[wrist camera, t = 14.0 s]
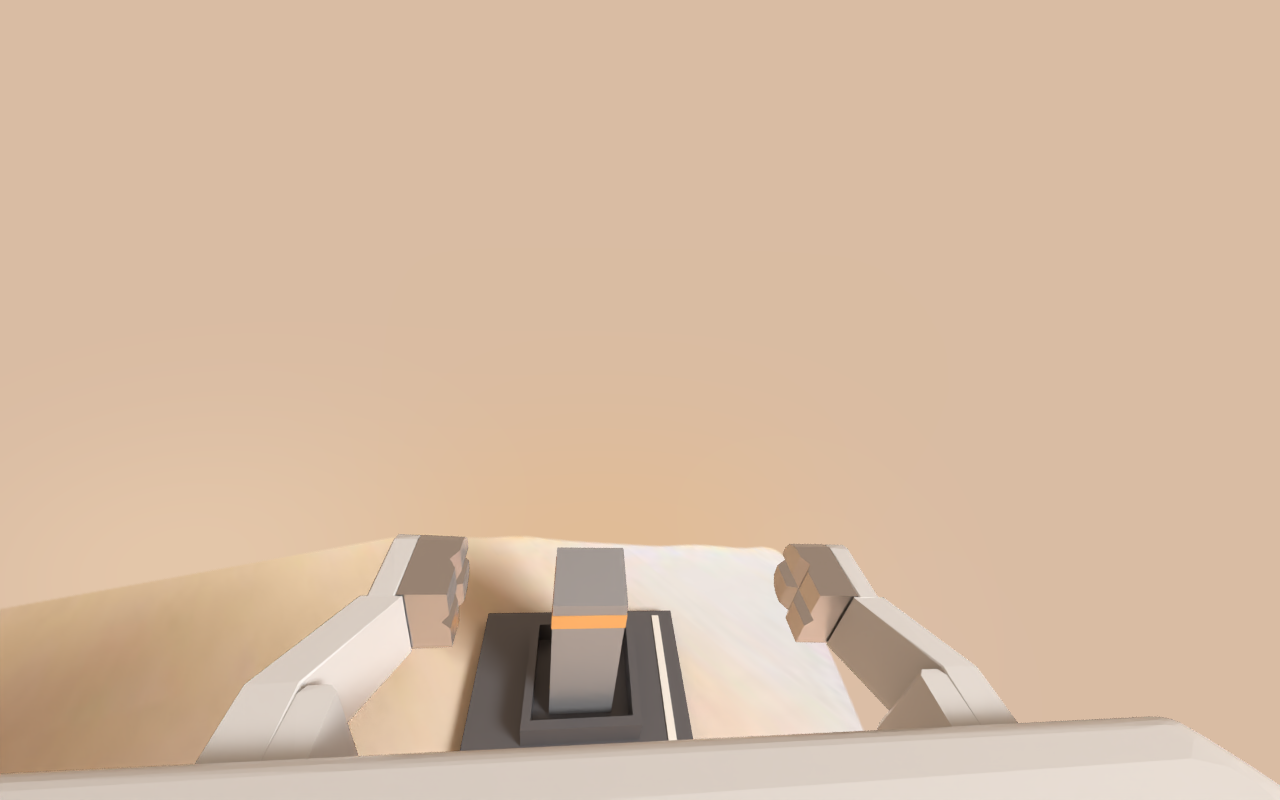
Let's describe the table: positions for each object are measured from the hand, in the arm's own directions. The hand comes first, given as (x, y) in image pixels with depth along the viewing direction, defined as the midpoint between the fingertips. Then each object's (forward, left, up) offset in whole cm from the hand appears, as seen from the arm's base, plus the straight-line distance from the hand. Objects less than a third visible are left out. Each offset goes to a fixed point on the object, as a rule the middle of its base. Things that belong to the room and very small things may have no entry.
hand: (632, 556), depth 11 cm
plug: (-8, +8, -27) cm, 30 cm away
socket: (-8, +8, -28) cm, 31 cm away
